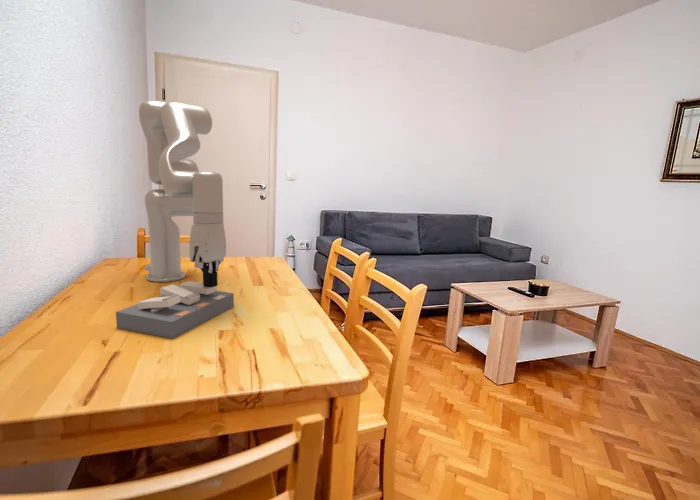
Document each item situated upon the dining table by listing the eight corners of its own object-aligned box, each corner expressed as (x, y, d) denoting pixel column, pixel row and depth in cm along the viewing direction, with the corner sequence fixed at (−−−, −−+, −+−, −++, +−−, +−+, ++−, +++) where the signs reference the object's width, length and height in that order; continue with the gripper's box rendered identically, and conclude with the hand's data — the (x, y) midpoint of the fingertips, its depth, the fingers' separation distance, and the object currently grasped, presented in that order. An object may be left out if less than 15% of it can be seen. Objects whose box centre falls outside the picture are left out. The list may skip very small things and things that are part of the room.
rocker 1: (139, 309, 89) (137, 301, 88) (152, 304, 92) (150, 296, 92) (168, 306, 86) (167, 298, 86) (181, 301, 90) (179, 294, 89)
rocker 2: (159, 293, 95) (160, 286, 94) (171, 289, 99) (172, 283, 98) (188, 305, 93) (189, 298, 92) (199, 300, 97) (200, 294, 96)
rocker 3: (179, 289, 102) (179, 283, 101) (189, 286, 105) (189, 279, 105) (207, 294, 99) (207, 287, 99) (216, 290, 103) (216, 284, 103)
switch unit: (116, 327, 87) (115, 308, 87) (187, 299, 110) (186, 283, 109) (172, 338, 83) (171, 318, 82) (233, 306, 106) (233, 290, 105)
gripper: (214, 216, 106) (215, 278, 109) (176, 220, 92) (179, 291, 95) (236, 218, 104) (237, 281, 107) (202, 221, 90) (204, 294, 93)
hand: (210, 285), depth 101 cm, fingers closed
